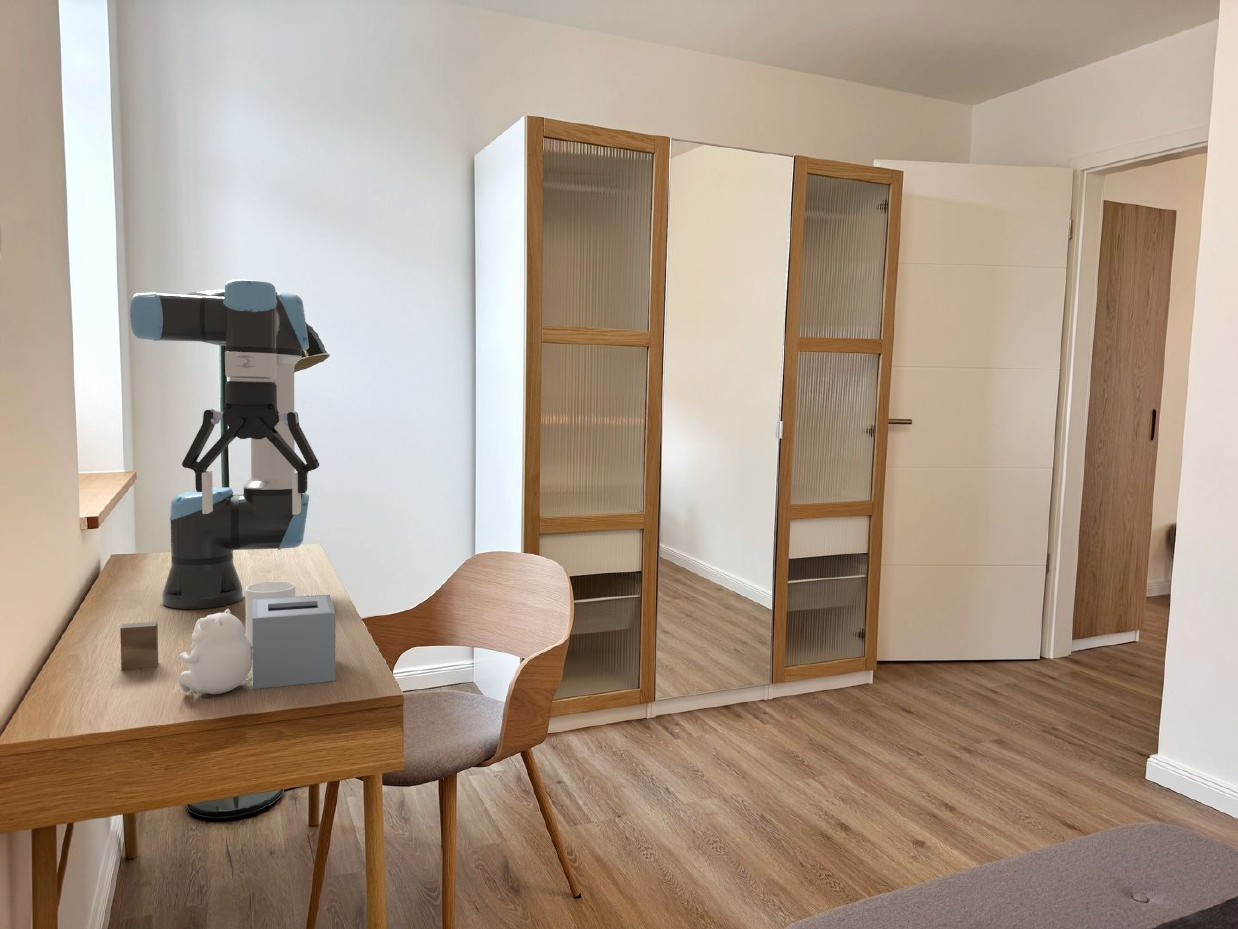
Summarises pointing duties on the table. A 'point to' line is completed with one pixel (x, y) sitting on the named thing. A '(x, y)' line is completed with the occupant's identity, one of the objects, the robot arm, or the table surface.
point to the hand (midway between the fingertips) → (252, 513)
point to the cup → (261, 592)
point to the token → (139, 646)
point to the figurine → (217, 655)
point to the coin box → (293, 641)
